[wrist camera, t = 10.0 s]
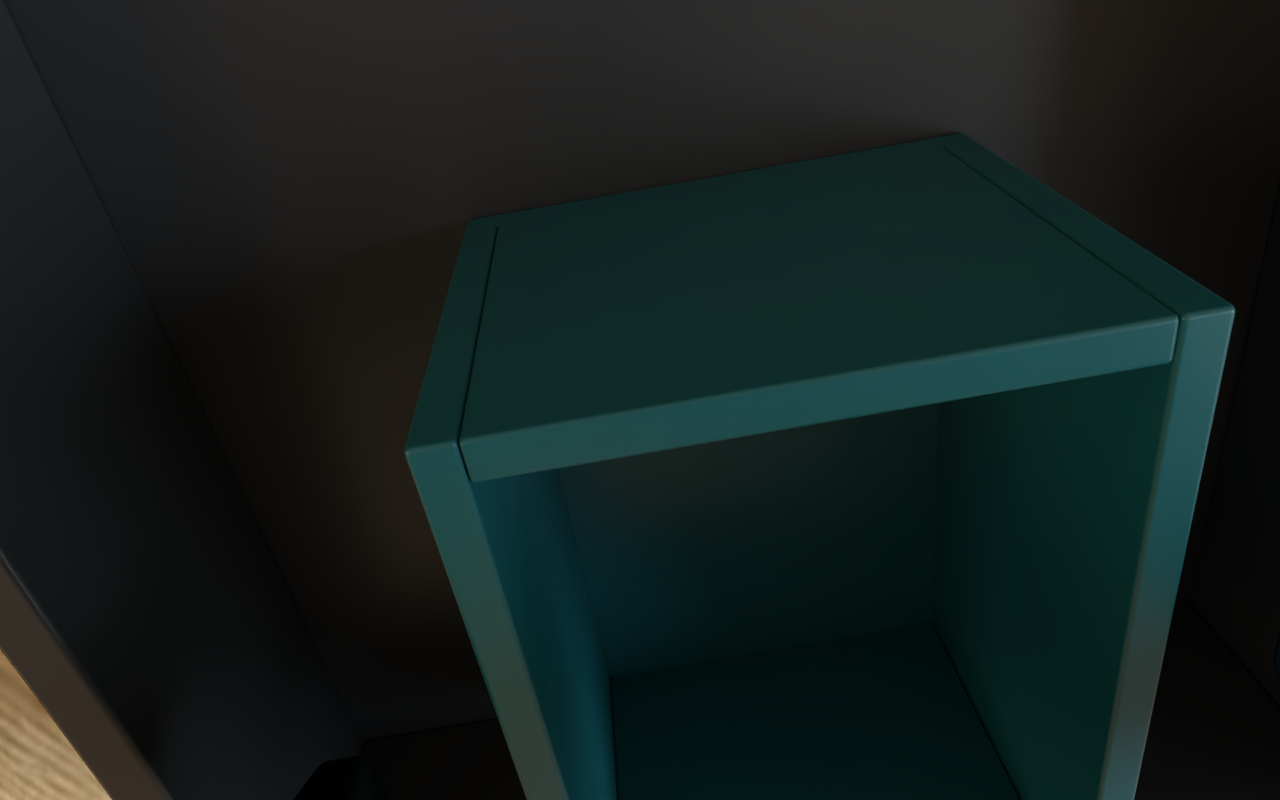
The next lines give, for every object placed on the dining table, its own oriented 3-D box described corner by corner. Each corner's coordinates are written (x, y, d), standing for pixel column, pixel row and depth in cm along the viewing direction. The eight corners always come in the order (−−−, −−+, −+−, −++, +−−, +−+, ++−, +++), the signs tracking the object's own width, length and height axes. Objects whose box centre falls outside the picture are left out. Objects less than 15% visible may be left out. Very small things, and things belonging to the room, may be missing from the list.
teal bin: (964, 130, 11) (1241, 305, 6) (948, 618, 15) (1110, 927, 10) (465, 218, 11) (400, 450, 6) (588, 679, 15) (599, 1010, 10)
